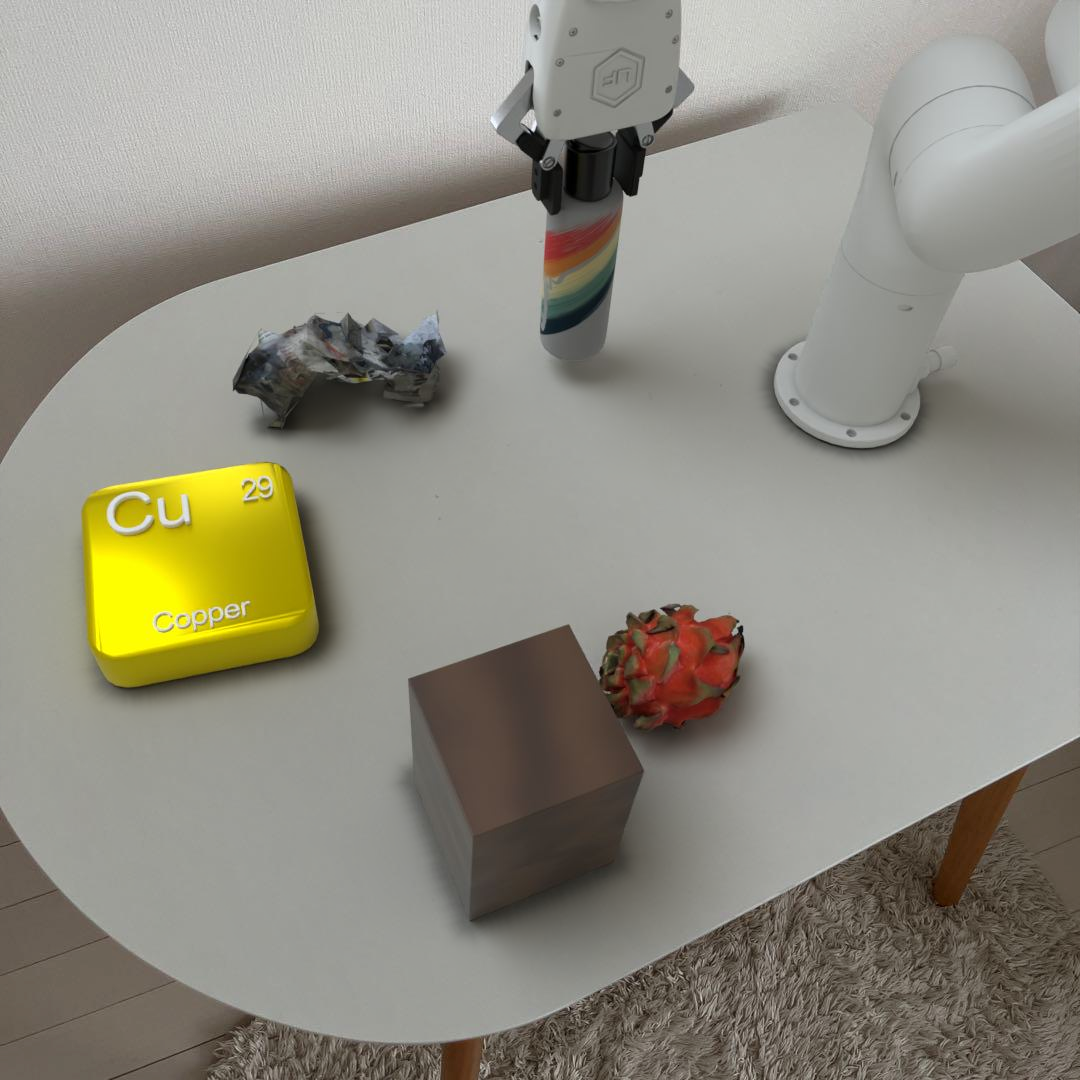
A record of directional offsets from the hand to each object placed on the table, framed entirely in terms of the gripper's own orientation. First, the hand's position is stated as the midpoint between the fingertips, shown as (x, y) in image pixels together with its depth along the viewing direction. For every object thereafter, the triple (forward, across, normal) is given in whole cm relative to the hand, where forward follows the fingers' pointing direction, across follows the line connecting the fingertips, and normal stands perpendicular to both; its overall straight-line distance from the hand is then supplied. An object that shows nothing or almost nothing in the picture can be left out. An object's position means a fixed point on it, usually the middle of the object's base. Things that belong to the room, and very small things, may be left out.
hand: (586, 192), depth 83 cm
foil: (+18, -19, +4) cm, 26 cm away
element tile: (+18, -35, -12) cm, 41 cm away
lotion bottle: (+15, 0, 0) cm, 15 cm away
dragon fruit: (+18, -7, -32) cm, 37 cm away
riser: (+18, -21, -37) cm, 46 cm away
